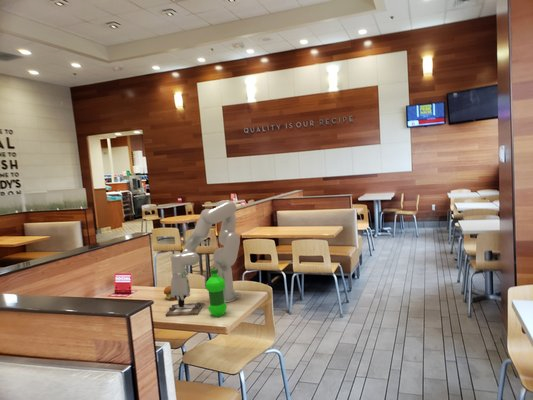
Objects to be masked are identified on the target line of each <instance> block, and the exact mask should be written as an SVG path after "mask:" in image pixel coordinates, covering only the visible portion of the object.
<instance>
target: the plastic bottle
mask: <svg viewBox="0 0 533 400" xmlns="http://www.w3.org/2000/svg"><path fill="white" fill-rule="evenodd" d="M209 272H210V275H211V276H210V277H209V278H208V279H207V281H206V282H205V289H206V291H207V292H208V297H209V306H208V311H209V313H210V314H212V315H213V316H214V317H221V316H223V315H224V314H225V312H226V311H227V307H228V306H227V303H225V302H224V291H223V289H224V288H225V281H224V279H222V278H221V277H219V276H218V274H217V273H218V269H215V268H211V269H210V270H209Z"/></svg>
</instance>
